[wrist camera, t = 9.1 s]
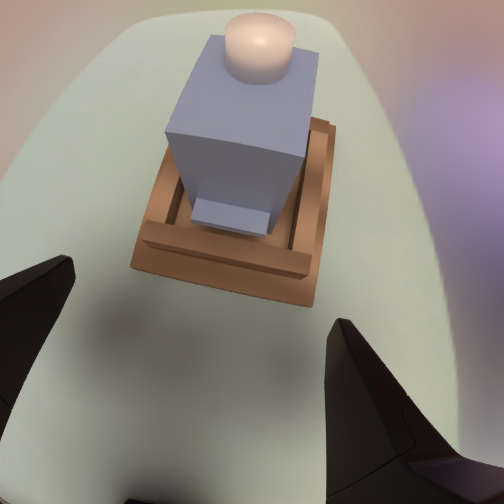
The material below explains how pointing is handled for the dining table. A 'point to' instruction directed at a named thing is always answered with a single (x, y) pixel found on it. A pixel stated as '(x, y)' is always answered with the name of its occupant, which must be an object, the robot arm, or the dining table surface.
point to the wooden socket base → (241, 245)
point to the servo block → (244, 124)
